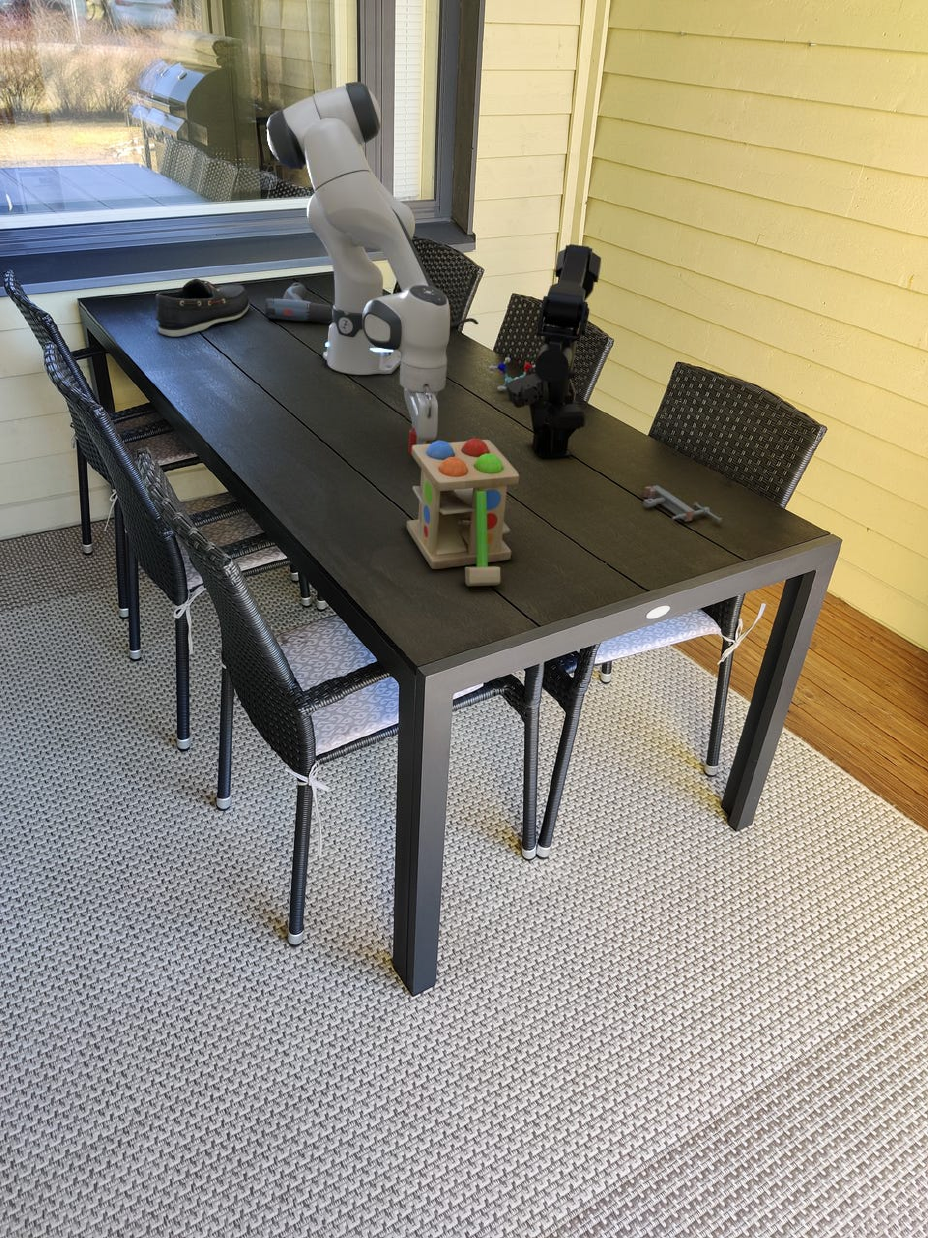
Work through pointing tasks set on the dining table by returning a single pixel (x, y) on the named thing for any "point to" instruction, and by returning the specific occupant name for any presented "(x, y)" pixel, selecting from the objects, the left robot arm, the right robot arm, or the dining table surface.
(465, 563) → the pounding bench toy
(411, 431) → the can
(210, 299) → the boat shoe
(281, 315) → the power drill
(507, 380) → the molecular model
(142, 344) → the dining table surface
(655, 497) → the clamp
